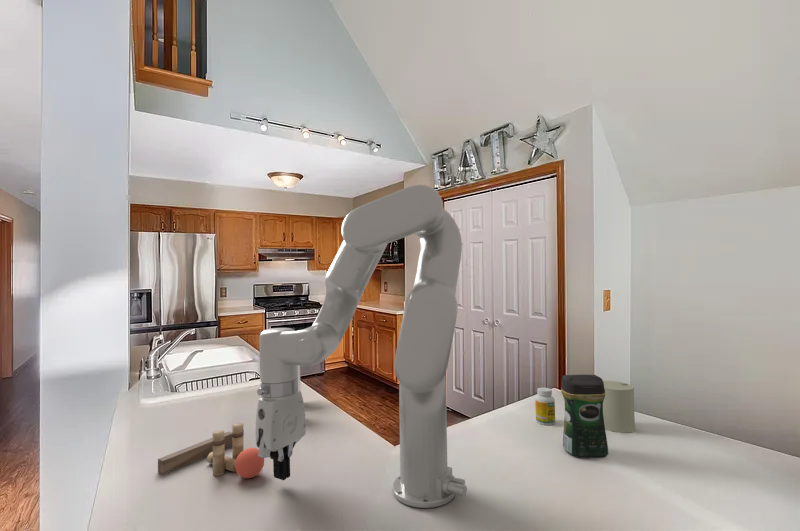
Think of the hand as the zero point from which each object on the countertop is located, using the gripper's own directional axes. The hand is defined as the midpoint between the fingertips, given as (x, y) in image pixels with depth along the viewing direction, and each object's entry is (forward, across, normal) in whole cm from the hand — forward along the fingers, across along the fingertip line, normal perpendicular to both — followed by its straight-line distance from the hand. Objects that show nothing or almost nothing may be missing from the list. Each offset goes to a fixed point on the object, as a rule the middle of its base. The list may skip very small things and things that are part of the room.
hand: (282, 477), depth 82 cm
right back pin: (+2, +2, +17) cm, 17 cm away
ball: (-1, 0, +10) cm, 10 cm away
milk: (+2, +39, +38) cm, 54 cm away
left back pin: (+2, -3, +17) cm, 17 cm away
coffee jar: (+4, +47, -52) cm, 70 cm away
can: (+4, +69, -58) cm, 90 cm away
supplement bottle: (+4, +63, -40) cm, 75 cm away
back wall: (+2, 0, +28) cm, 29 cm away
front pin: (+1, 0, +14) cm, 14 cm away
